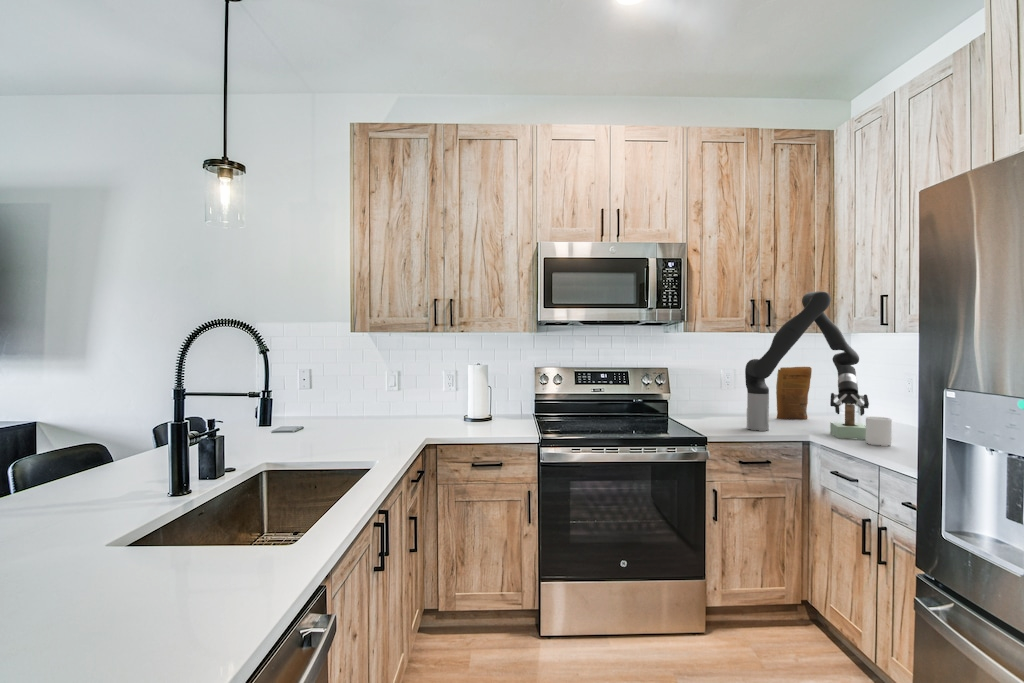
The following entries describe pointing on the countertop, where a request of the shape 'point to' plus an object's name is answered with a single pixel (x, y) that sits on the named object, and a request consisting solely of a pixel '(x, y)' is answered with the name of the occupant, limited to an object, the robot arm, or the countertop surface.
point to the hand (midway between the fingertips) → (850, 413)
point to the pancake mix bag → (793, 392)
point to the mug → (878, 431)
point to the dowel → (849, 415)
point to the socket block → (848, 430)
